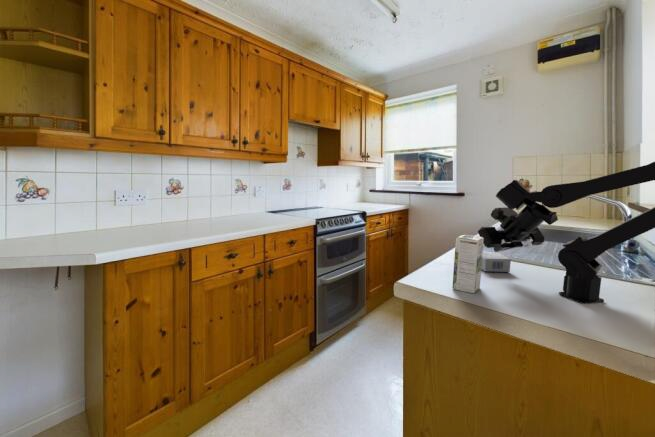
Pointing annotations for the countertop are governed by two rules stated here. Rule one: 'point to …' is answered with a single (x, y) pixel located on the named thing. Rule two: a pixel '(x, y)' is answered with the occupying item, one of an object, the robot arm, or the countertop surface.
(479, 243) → the syrup box
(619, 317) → the countertop surface
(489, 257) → the medicine box
